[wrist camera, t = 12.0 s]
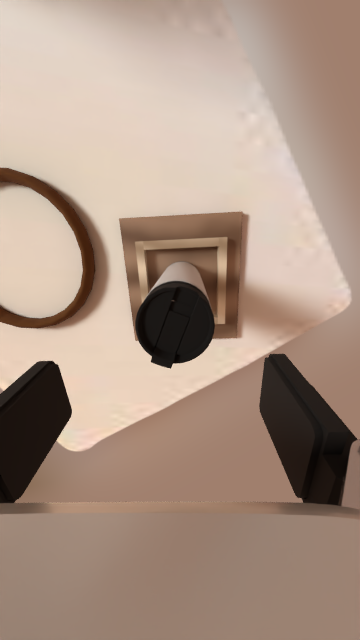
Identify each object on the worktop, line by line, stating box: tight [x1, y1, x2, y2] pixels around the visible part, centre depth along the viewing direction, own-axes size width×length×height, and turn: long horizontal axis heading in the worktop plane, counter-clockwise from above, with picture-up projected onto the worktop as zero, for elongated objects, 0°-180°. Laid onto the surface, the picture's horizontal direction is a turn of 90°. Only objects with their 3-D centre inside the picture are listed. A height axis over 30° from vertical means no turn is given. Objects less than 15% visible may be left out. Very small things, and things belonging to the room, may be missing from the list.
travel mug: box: [135, 261, 215, 368], centre depth 25 cm, size 6×7×20 cm
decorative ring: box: [0, 168, 95, 328], centre depth 33 cm, size 24×3×30 cm
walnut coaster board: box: [119, 212, 242, 341], centre depth 35 cm, size 20×18×2 cm
